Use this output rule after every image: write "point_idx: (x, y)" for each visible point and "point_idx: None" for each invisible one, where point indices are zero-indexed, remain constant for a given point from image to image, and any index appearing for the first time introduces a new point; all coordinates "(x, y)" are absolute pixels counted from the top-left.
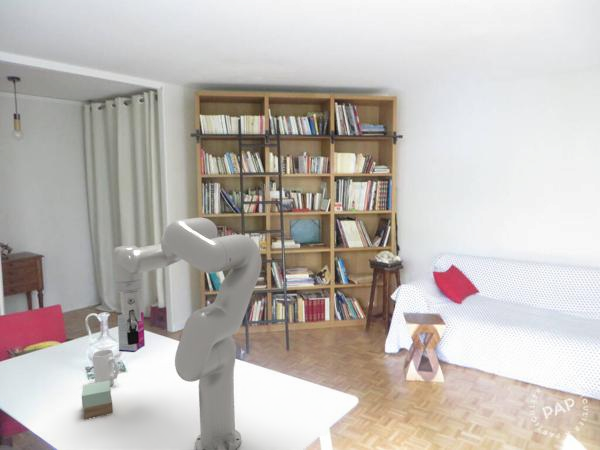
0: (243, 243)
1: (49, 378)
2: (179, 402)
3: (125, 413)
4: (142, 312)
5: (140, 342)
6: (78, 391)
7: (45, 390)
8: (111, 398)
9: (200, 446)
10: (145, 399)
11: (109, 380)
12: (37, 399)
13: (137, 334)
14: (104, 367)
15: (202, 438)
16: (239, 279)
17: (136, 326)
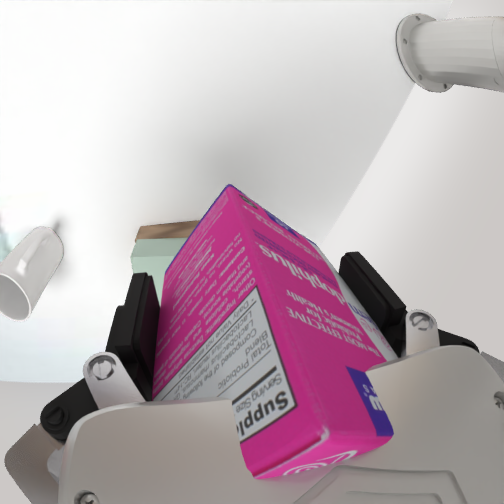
0: None
1: (20, 338)
2: (226, 52)
3: (218, 191)
4: (351, 439)
5: (281, 227)
6: (70, 295)
7: (61, 342)
8: (181, 235)
9: (437, 86)
10: (160, 139)
11: (131, 258)
12: (94, 350)
13: (387, 293)
14: (41, 274)
15: (447, 83)
16: None
17: (472, 345)
